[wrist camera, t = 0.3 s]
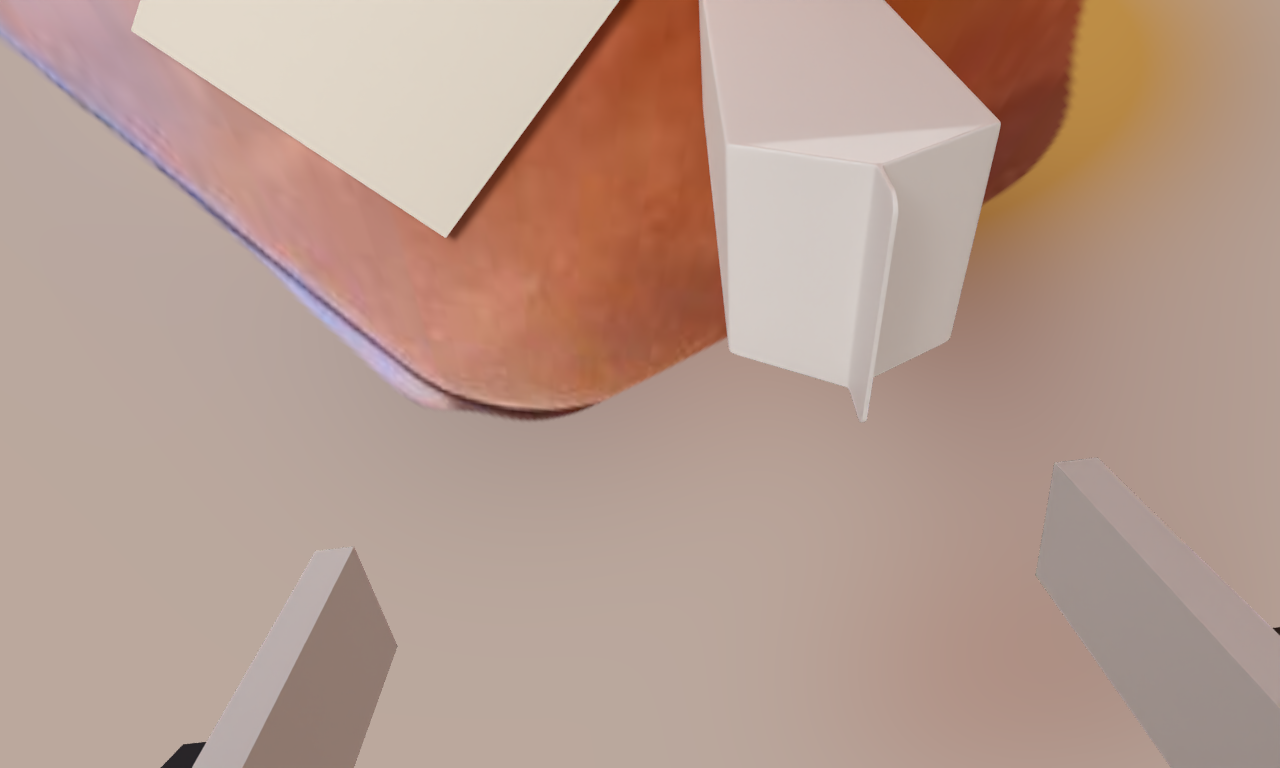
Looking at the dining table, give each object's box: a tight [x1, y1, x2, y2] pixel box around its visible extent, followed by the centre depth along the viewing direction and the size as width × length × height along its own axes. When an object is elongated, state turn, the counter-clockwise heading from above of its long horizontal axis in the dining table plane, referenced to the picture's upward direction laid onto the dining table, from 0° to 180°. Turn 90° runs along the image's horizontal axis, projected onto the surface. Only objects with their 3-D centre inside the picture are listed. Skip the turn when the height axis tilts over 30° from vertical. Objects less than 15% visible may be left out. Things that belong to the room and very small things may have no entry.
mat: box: [131, 0, 619, 238], centre depth 31 cm, size 16×16×1 cm
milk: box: [699, 0, 1001, 422], centre depth 23 cm, size 6×6×22 cm
